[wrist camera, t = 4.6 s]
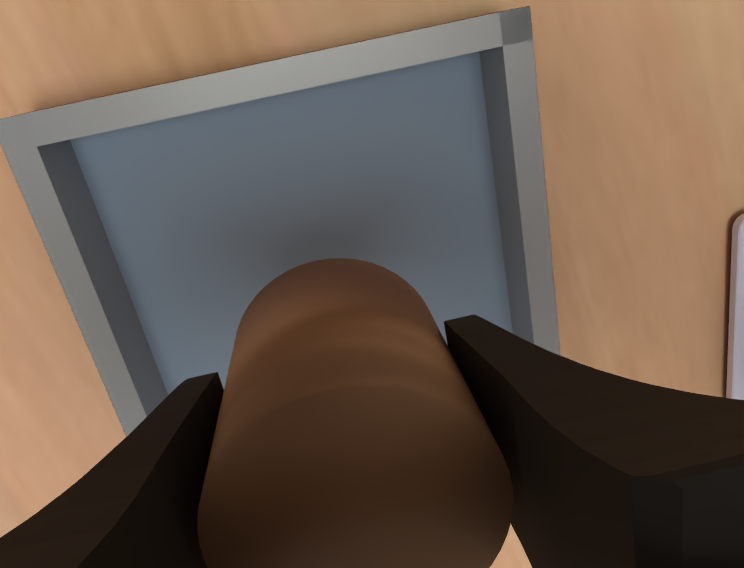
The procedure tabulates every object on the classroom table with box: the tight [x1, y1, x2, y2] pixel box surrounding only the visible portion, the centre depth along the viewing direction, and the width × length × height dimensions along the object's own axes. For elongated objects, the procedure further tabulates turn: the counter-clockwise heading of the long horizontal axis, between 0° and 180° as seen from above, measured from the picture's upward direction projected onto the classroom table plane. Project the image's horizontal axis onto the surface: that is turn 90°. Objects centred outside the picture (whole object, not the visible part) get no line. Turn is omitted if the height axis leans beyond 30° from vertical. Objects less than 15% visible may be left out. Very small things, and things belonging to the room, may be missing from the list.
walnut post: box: [197, 258, 513, 568], centre depth 11 cm, size 4×4×5 cm
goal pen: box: [0, 6, 560, 437], centre depth 19 cm, size 14×14×2 cm
